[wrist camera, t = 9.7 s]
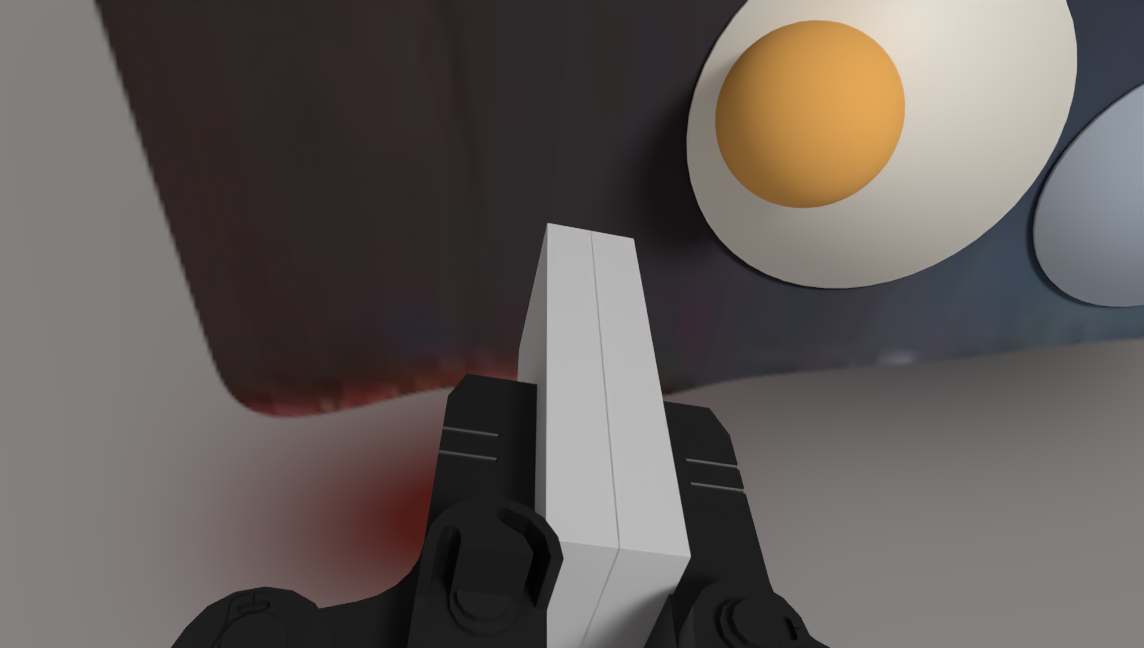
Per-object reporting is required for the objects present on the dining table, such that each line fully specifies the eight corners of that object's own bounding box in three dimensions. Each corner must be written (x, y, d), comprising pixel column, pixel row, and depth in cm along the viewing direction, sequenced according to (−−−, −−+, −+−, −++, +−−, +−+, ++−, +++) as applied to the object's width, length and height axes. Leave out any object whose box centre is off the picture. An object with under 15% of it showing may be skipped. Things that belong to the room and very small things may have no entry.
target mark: (1159, -30, 24) (1163, -29, 24) (952, 309, 31) (954, 312, 31) (764, -133, 22) (765, -132, 22) (643, 254, 29) (643, 256, 29)
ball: (692, 17, 22) (772, 8, 26) (674, 205, 24) (749, 170, 28) (892, 36, 19) (946, 23, 23) (848, 247, 21) (904, 202, 25)
